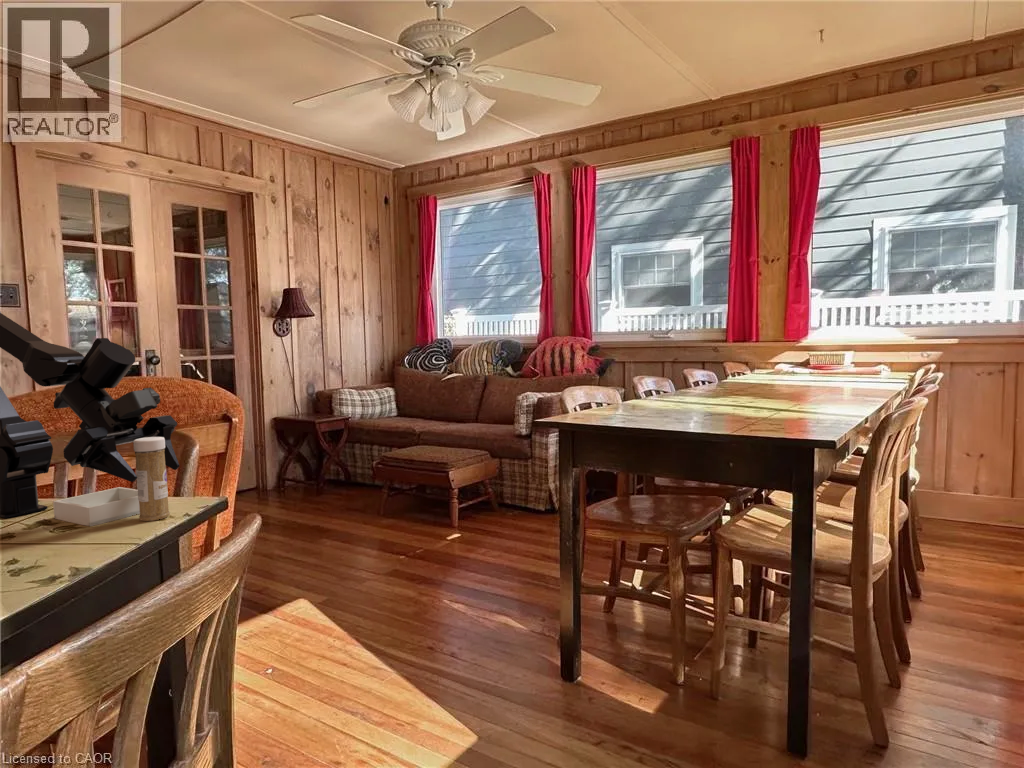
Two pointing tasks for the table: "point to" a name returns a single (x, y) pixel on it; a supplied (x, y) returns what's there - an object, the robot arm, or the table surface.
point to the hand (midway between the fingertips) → (157, 473)
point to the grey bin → (98, 506)
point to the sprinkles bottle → (151, 478)
